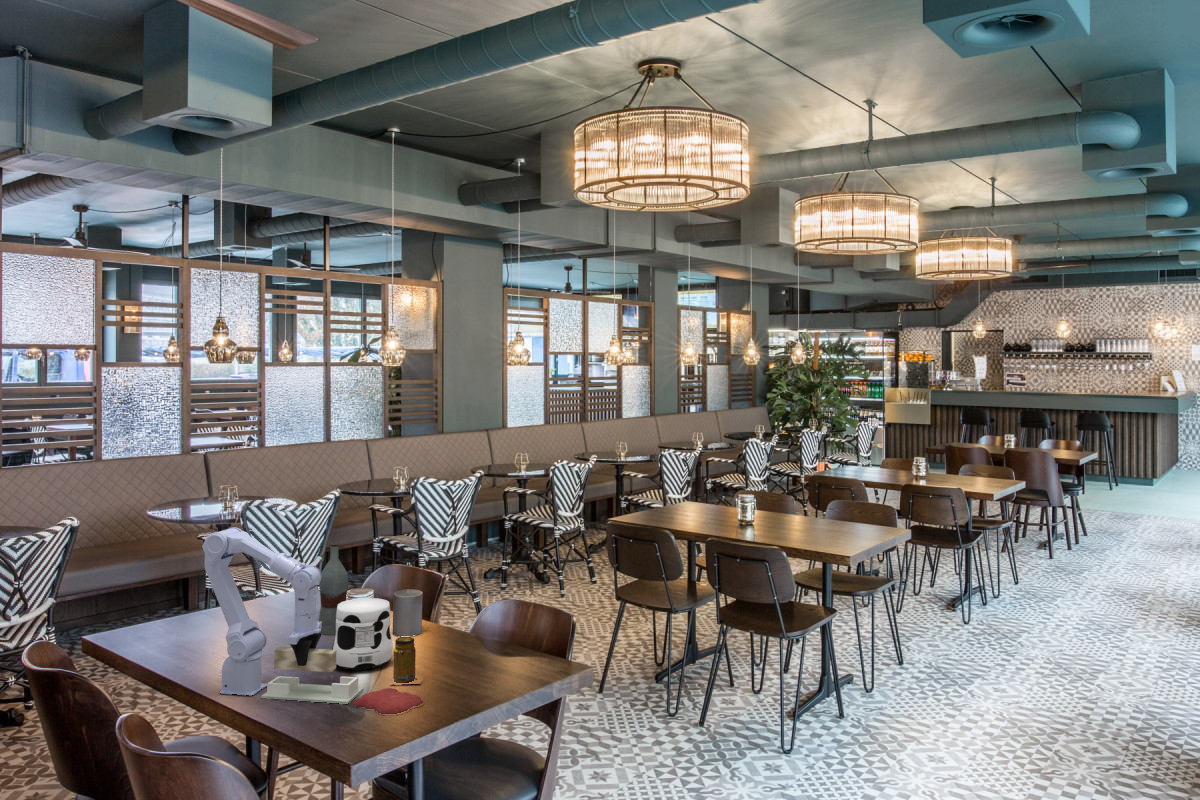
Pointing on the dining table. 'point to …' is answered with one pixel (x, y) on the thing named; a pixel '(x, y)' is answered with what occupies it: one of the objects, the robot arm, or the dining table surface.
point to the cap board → (312, 694)
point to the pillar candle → (407, 612)
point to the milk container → (363, 633)
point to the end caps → (283, 685)
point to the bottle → (332, 591)
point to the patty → (388, 701)
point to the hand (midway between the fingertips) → (305, 663)
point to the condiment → (404, 660)
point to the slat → (315, 662)
